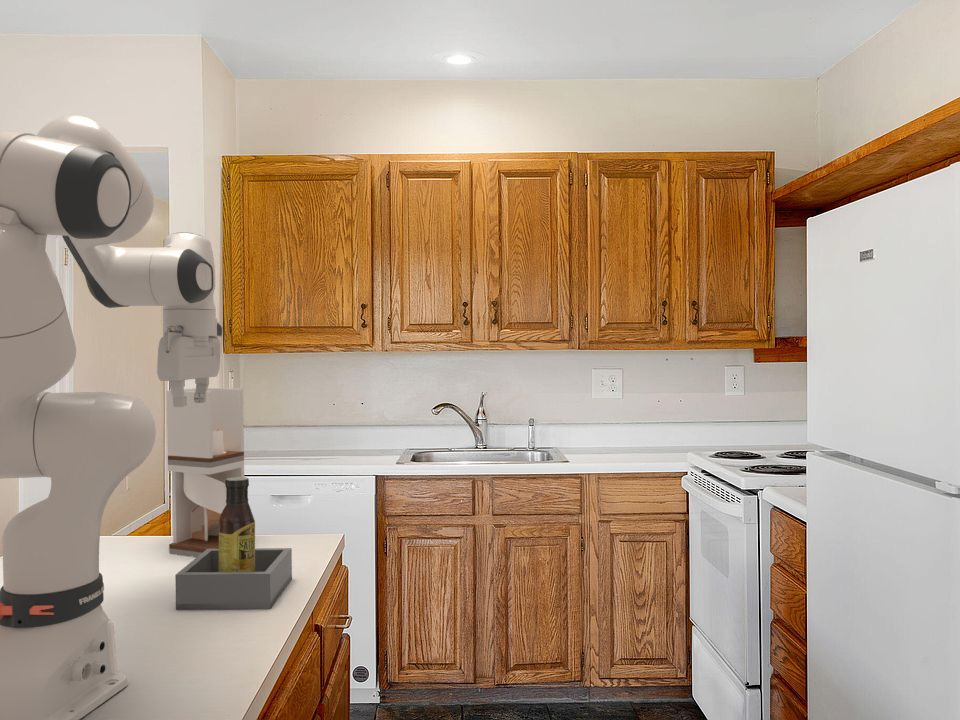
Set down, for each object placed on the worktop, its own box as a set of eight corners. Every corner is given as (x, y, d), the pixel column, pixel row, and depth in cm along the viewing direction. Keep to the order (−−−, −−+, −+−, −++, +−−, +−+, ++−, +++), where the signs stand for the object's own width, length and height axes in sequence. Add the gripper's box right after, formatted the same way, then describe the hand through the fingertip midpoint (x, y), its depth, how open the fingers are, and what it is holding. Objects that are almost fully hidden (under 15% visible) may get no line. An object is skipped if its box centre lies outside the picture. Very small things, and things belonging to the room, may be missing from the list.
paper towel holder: (169, 553, 165) (166, 390, 164) (204, 541, 175) (202, 387, 174) (211, 559, 160) (208, 391, 159) (245, 546, 170) (243, 388, 169)
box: (270, 608, 131) (270, 573, 131) (175, 609, 131) (175, 574, 131) (291, 579, 147) (291, 548, 147) (207, 580, 147) (207, 548, 147)
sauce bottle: (244, 595, 135) (243, 482, 134) (212, 593, 136) (210, 481, 135) (261, 583, 141) (260, 475, 141) (230, 581, 142) (229, 474, 142)
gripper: (184, 325, 126) (185, 409, 126) (226, 328, 146) (226, 400, 147) (146, 325, 126) (147, 409, 126) (193, 328, 146) (193, 400, 147)
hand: (190, 404), depth 137 cm, fingers open, 8 cm apart
